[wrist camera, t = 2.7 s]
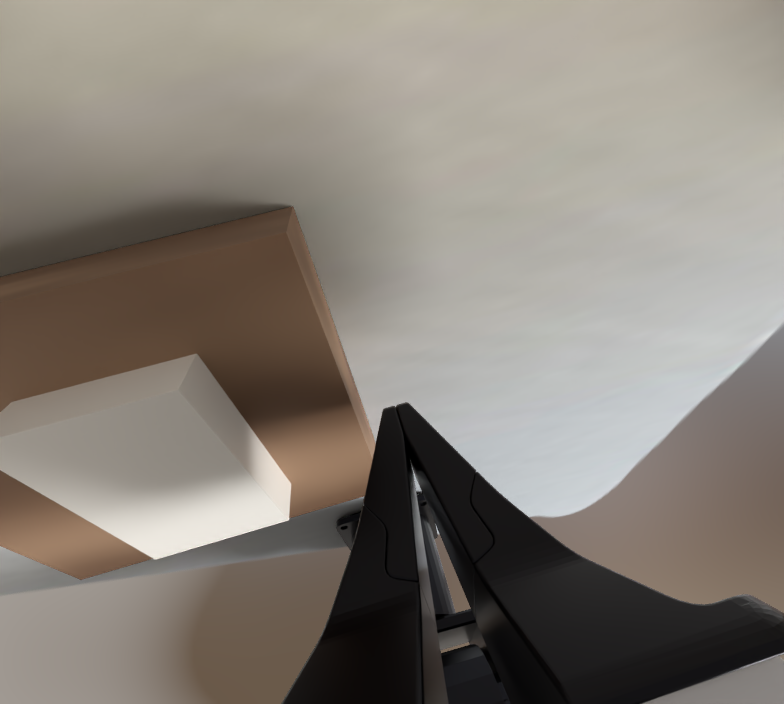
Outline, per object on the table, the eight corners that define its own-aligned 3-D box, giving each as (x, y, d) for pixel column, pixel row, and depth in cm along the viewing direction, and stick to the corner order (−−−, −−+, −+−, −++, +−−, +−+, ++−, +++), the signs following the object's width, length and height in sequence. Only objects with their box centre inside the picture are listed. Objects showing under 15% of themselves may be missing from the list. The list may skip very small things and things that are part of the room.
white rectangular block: (291, 483, 13) (288, 519, 12) (170, 518, 13) (155, 559, 11) (197, 353, 9) (178, 389, 7) (11, 401, 8) (-39, 447, 7)
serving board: (374, 439, 17) (384, 490, 15) (115, 513, 16) (81, 579, 14) (293, 206, 10) (286, 232, 7) (-185, 321, 9) (-367, 391, 7)
